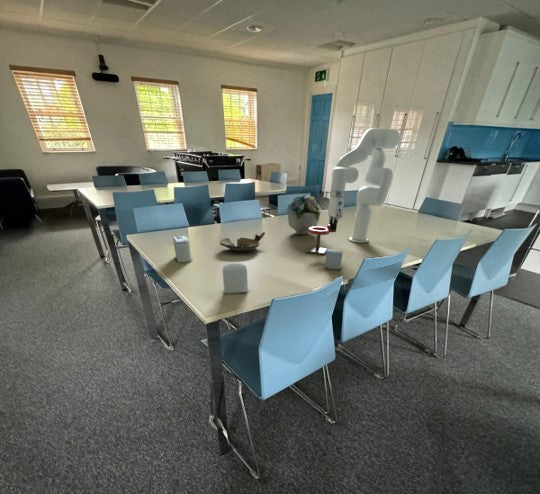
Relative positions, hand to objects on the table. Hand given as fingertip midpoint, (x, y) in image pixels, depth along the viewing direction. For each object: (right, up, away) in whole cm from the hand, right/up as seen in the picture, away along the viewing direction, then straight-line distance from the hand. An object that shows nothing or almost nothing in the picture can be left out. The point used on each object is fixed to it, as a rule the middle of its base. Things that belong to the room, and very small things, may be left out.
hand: (332, 229), depth 179 cm
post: (-8, -11, +5) cm, 15 cm away
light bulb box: (-83, -21, -12) cm, 87 cm away
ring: (-6, -2, -1) cm, 6 cm away
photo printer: (-51, -47, -46) cm, 83 cm away
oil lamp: (-52, -10, +5) cm, 53 cm away
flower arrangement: (-13, +15, +41) cm, 46 cm away
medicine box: (-4, -28, -18) cm, 33 cm away
